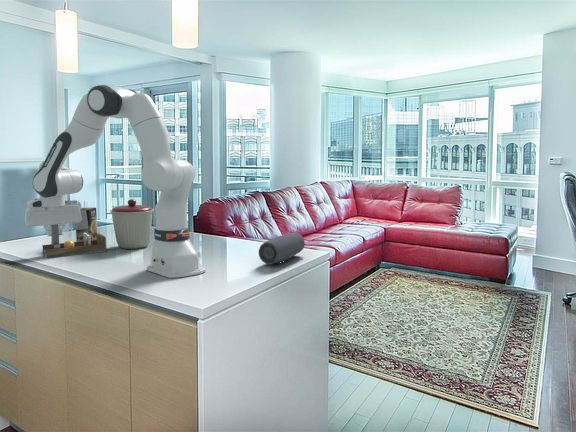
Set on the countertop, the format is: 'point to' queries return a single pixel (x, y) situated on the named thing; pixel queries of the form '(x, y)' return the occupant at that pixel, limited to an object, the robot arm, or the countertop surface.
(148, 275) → the countertop surface
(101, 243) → the brown wooden tray
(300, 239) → the bluetooth speaker
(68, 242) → the ball
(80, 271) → the countertop surface
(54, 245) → the striker
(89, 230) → the coffee box
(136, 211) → the canister
